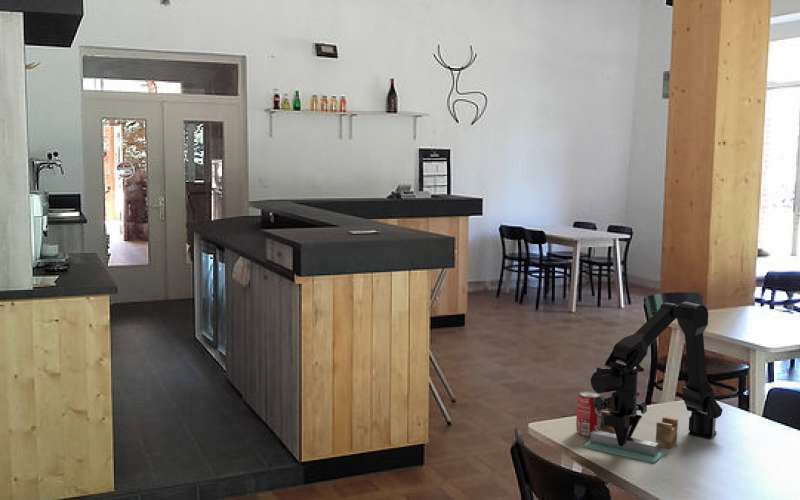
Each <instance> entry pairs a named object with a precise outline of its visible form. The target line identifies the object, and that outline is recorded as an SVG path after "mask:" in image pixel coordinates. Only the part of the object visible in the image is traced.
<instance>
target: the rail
mask: <svg viewBox="0 0 800 500" xmlns="http://www.w3.org/2000/svg"><path fill="white" fill-rule="evenodd" d="M589 438H590V443H592V444H597V445H601V446H606V447H610V448H615V449H619V450H624V451H628V452H633V453H637V454H642V455H646V456H651V457H655V456H656V455H657V454H658V451H659V447H658V443H656V441H655V442H654V441H649V440H646V439H641V438H640V439H639V438H635V437H632V436H631V437H627V438H626V441H625V443H624V445H623V446H619V444H618V441H617V437H616V434H612V433H608V432H603V431H598V430H594V431H592V432H591V436H590V437H589Z"/></svg>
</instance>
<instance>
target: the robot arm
mask: <svg viewBox="0 0 800 500" xmlns="http://www.w3.org/2000/svg"><path fill="white" fill-rule="evenodd" d="M659 306H660V307H659V309H658V310H657V311H656V312H655V313H653V315H652V316H651V317H649V319H647V321H645V323H644V324H642V326H640V328H638V330H637V331H636V332H634V333H633V334H631V335H628V336H624V337H623V338H622V339H621V340H619V341H617V342H616V343H615V345H614V346H613V349H612V350H611V353H609V356H608V358H607V359H606V361H605V362H604V366H598V367H596V371H595V372H593V374H592V375H591V377H590V385H591V388H592V390H593V392H597V393H599V394H604V393H611V394H607V395H600V397H598V396H597V397H595V399H594V401H593V407H595V408H596V410H597V411H601V410H602V411H604V410H608V409H609V408H611V409H610V411H617V413H615V412H609V413H608V414H606V415H605V416H604V417H603V421H602V424H603V425H606V426H611V427H613V428H614V430H615V433H616V437H617V441H618V444H619V446H623V445H624V443H625V441H626V438H627V437H631V438H632V436H633V434H634V433H635V430H636V429H637V427H638V425H639V423H640V421H641V420H642V417H643V415H644V414H645V413H647V411H648V405H647V403H645V401H642V400H638V397H639V396H640V391H639V390H638V382H639V381H638V379H639V373H643V372H645V368H644V367H642V366H641V365H640V364H641V363H642V361H643V360H645V357H646V356H647V355H648V350H649V349H648V348H649V347H650V345H652V343H653V342H654V341H655V340H656V339H657V338H658V337H659V336H660V335H661V334H662V333H663V332H664V331H665V330H666V329H667V328H668V327H669V326H670V325H671V324H672V323H673V322H674V321H675V320H677V324H678V326H679V328H680V329H681V331H682V332H683V334H684V341H685V351H686V352H685V353H686V364H687V375H688V376H687V377H688V381H687V383H686V384H685V386H682V387H681V392H682V398H681V400H682V401H683V402H684V404H685V407H686V411H689V412H691V414H690V416H689V417H688V435H691V436H696V437H700V438H706V439H713V437H715V436H716V434H717V432H718V431H717V430H716V422H717V419H719V418H720V417H721V416H722V413H723V408H722V407H721V406H720V404H719V403H718V402H717V400H716V396H715V393H714V388H713V387H712V386H711V384H710V383H709V381H708V375H707V366H706V365H707V363H706V353H705V351H706V350H705V343H704V341H705V340H704V332H705V331H706V329H707V327H708V326H709V311H708V308H707V307H706V306H705V305H702V304H698V303H695V302H694V303H693V302H690V301H689V302H688V301H682V302H680V303H671V302H662V303H661V304H660V305H659ZM638 411H640V413H641V414H638Z"/></svg>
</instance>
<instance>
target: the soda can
mask: <svg viewBox="0 0 800 500" xmlns="http://www.w3.org/2000/svg"><path fill="white" fill-rule="evenodd" d="M597 396H598V397H600V396H601V393H597V392H595V391H590V390H584V391H580V392H579V395H578V397H577V401H576V402H577V403H576V419H575V420H576V422H575V423H576V424H575V425H576V432H577V433H578V434H579V435H581V436H583V437H587V438H590V436H591V432H592V431H594V430H598V431H601V418H602V411H603V410H601V411H597V410H596V408H595V407H593V401H594V399H595V397H597Z"/></svg>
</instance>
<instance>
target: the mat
mask: <svg viewBox="0 0 800 500" xmlns="http://www.w3.org/2000/svg"><path fill="white" fill-rule="evenodd" d="M583 448H586V449H590V450H596V451H599V452H604V453H608V454H613V455H617V456H622V457H626V458H629V459H635V460H639V461H645V462H648V463H653V464H656V463H657V462H658V461H660V460H661V459H662V458H663V457H664V455H665V454H666V453H665V451H660V450H658V454H657V455H656V456H655V457H651V456H646V455H642V454H637V453H633V452H628V451H624V450H619V449H615V448H610V447H606V446H601V445H597V444H592V443H590V440H588V441H587V442H586V443H584V444H583Z"/></svg>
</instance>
